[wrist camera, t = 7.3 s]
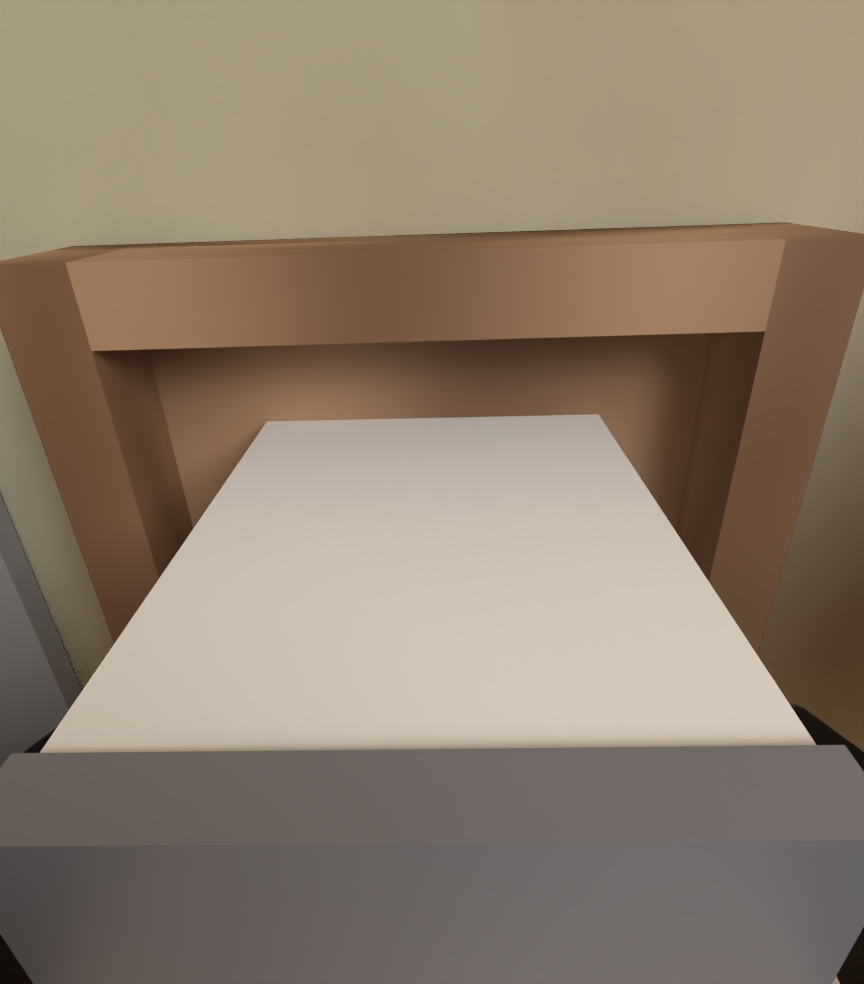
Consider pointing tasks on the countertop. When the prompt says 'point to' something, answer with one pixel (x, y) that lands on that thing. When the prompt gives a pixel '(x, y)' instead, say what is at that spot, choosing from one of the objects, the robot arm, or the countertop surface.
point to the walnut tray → (438, 368)
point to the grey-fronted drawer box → (432, 741)
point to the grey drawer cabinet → (28, 653)
